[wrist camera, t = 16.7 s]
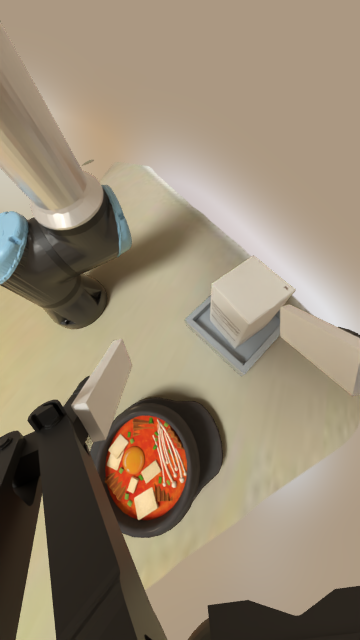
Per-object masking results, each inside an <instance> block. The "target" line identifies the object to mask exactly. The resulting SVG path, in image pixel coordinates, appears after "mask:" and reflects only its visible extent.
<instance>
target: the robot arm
mask: <svg viewBox="0 0 360 640" xmlns="http://www.w3.org/2000/svg"><path fill="white" fill-rule="evenodd" d="M0 168H1V169H2V170H3V171H4V172H5V173H6V174H7V175H8V177H9V178H10V179H11V180H12V181H13V182H14V183H15V184H16V185H17V186H18V187H19V188H20V189H21V190H22V191H23V192H24V193H25V194H26V195H27V196H28V197H29V199H31V211H32V214H33V216H34V218H31V219H30V220H27V219H26V218H25V217H24V216H22V215H20V214H19V213H17V212H13V211H10V212H3V213H1V214H0V285H1V286H3V287H5V288H7V289H9V290H10V291H12V292H14V293H16V294H18V295H20V296H22V297H24V298H26V299H27V300H29V301H31V302H33V303H35V304H37V305H39V306H41V307H42V308H43V309H44V310H45V311H46V312H47V314H48V315H49V316H50V317H51V318H52V319H53V320H54V321H55V322H56V323H57V324H59V325H61V326H63V327H65V328H69V329H79V328H82V327H85V326H87V325H89V324H91V323H92V322H94V321H95V320H96V319H97V318H98V317H99V316H100V315H101V313H102V312H103V310H104V308H105V306H106V302H107V294H106V290H105V289H104V287H103V286H102V285H101V284H100V283H99V282H98V281H97V280H96V279H94V278H92V277H90V276H88V275H85V274H83V273H85V272H87V271H89V270H91V269H93V268H95V267H97V266H99V265H101V264H103V263H106V262H108V261H110V260H112V259H114V258H116V257H119V256H120V255H121V254H122V253H124V252H126V251H127V250H129V249H130V248H131V245H132V238H131V234H130V230H129V227H128V224H127V221H126V219H125V217H124V214H123V211H122V208H121V206H120V204H119V202H118V200H117V198H116V196H115V194H114V192H113V191H112V189H111V188H110V187H109V186H108V185H101V184H100V182H99V181H98V180H97V178H96V177H95V176H93V175H92V174H90V173H88V172H85V171H82V169H81V167H80V165H79V163H78V162H77V160H76V158H75V156H74V154H73V153H72V151H71V149H70V147H69V145H68V143H67V142H66V140H65V138H64V136H63V135H62V132H61V131H60V129H59V127H58V125H57V123H56V122H55V120H54V118H53V117H52V114H51V113H50V111H49V109H48V107H47V105H46V103H45V102H44V100H43V98H42V96H41V94H40V93H39V91H38V89H37V87H36V85H35V83H34V82H33V80H32V78H31V76H30V74H29V72H28V71H27V69H26V67H25V65H24V63H23V61H22V60H21V58H20V56H19V54H18V52H17V51H16V49H15V47H14V45H13V43H12V42H11V40H10V38H9V36H8V34H7V32H6V31H5V29H4V27H3V25H2V23H1V21H0ZM280 337H281V338H283V339H284V340H285V341H286V342H287V343H289V344H290V345H291V346H292V347H294V348H295V349H296V350H297V351H298V352H300V353H301V354H302V355H303V356H304V357H306V358H307V359H308V360H309V361H310V362H312V363H313V364H314V365H315V366H316V367H318V368H319V369H320V370H321V371H322V372H324V373H325V374H326V375H327V376H329V377H330V378H331V379H332V380H333V381H335V382H336V383H337V384H338V385H339V386H341V387H342V388H343V389H344V390H345V391H347V392H348V393H349V394H350V395H351V396H356V395H360V335H358V333H355V332H353V331H351V330H349V329H345V328H341V327H335V326H334V325H332V324H330V323H327V322H325V321H323V320H321V319H319V318H317V317H315V316H313V315H311V314H309V313H307V312H305V311H303V310H301V309H298V308H296V307H294V306H292V305H285V306H280ZM131 368H132V363H131V360H130V358H129V355H128V352H127V350H126V347H125V344H124V342H123V339H118V340H113V342H112V344H111V345H110V347H109V348H108V350H107V351H106V353H105V354H104V356H103V357H102V359H101V360H100V362H99V363H98V365H97V366H96V368H95V369H94V371H93V373H92V374H91V376H88V377H86V378H85V379H84V380H83V381H82V382H80V384H79V385H78V387H77V388H76V390H75V391H74V392H73V395H71V397H70V398H69V400H68V401H67V402H66V404H65V405H64V407H63V406H62V405H61V403H60V402H59V401H58V400H51V401H48V402H46V403H44V404H42V405H41V406H39V407H38V408H36V409H35V410H34V411H33V412H32V413H31V414H30V416H29V417H28V422H29V423H30V425H31V426H32V427H33V429H34V430H35V432H32V433H30V434H28V435H25V436H22V434H21V433H20V432H19V431H13V432H10V433H7V434H6V435H4V436H2V437H0V640H15V639H16V634H17V628H18V623H19V617H20V612H21V606H22V601H23V595H24V590H25V584H26V579H27V573H28V568H29V563H30V557H31V552H32V546H33V541H34V535H35V530H36V524H37V519H38V513H39V508H40V502H41V497H42V494H43V505H44V515H45V525H46V536H47V546H48V557H49V567H50V578H51V588H52V599H53V609H54V620H55V630H56V640H167V638H166V636H165V634H164V631H163V629H162V627H161V625H160V622H159V621H158V619H157V617H156V615H155V613H154V611H153V609H152V607H151V604H150V602H149V600H148V597H147V595H146V592H145V590H144V587H143V585H142V582H141V580H140V577H139V575H138V572H137V570H136V567H135V565H134V562H133V560H132V557H131V555H130V552H129V550H128V547H127V544H126V542H125V539H124V537H123V534H122V532H121V529H120V527H119V524H118V522H117V519H116V517H115V514H114V512H113V509H112V507H111V504H110V502H109V499H108V497H107V494H106V492H105V489H104V487H103V484H102V482H101V479H100V477H99V474H98V472H97V469H96V467H95V464H94V462H93V459H92V457H91V454H90V452H89V449H88V446H87V445H86V443H85V441H86V439H87V437H88V435H89V437H90V439H91V440H92V442H96V441H102V440H106V438H107V436H108V433H109V430H110V427H111V424H112V422H113V419H114V416H115V413H116V410H117V407H118V405H119V402H120V399H121V396H122V393H123V390H124V388H125V385H126V382H127V379H128V376H129V374H130V371H131ZM208 613H209V618H208V619H207V620H205V621H204V622H203V623H201V625H200V626H199V627H198V628H197V629H196V630H195V631H194V632H193V633H192V635H191V636H190V637H189V639H188V640H360V586H356V587H348V588H340V589H335V590H333V591H332V592H331V593H329V594H328V595H327V596H325V597H324V598H323V599H321V600H320V601H319V602H318V603H316V604H315V605H314V606H312V607H311V608H310V609H308V610H307V611H306V612H304V613H303V614H302V615H299V616H294V615H291V614H288V613H285V612H282V611H279V610H276V609H273V608H270V607H267V606H264V605H261V604H258V603H255V602H252V601H249V600H245V601H238V602H230V603H222V604H214V605H208Z"/></svg>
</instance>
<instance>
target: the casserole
mask: <svg viewBox="0 0 360 640" xmlns="http://www.w3.org/2000/svg"><path fill="white" fill-rule="evenodd" d="M90 454H91V457H92V459H93V462H94V464H95V467H96V469H97V472H98V474H99V477H100V479H101V482H102V484H103V487H104V489H105V492H106V494H107V497H108V499H109V502H110V504H111V507H112V509H113V512H114V514H115V517H116V519H117V522H118V524H119V527H120V529H121V532H122V533H123V534H126V535H129V536H132V537H141V538H145V537H146V538H150V537H154V536H158V535H162V534H163V533H165V532H167V531H169V530H171V529H172V528H173V527H175V526H176V525H177V524H178V523H179V522H180V521H181V520H182V519H183V517H184V516H185V515H186V513H187V512H188V510H189V509H190V507H191V505H192V502H193V501H194V499H195V498H196V496H197V495H198V494H199V492H200V491H201V489H202V488H203V487H204V486H205V485H206V484H207V483H208V482H209V481H211V480H212V479H213V478H214V477H215V476H216V475H217V474H218V473H219V470H220V468H221V465H222V458H223V450H222V441H221V438H220V434H219V430H218V428H217V426H216V424H215V422H214V419H213V418H212V416H211V415H210V413H209V412H208V411H207V410H206V409H205V408H204V407H203V406H202V405H201V404H199V403H197V402H195V401H173V400H168V399H163V398H148V399H144V400H141V401H139V402H137V403H135V404H133V405H132V406H130V407H129V408H128V409H126V410H125V411H124V412H122V413H121V414H120V415H118V416H117V417H116V419H115V420H114V421H113V422H112V424H111V427H110V430H109V433H108V436H107V438H106V440H102V441H96V442H94V443H93V445H92V447H91V451H90Z"/></svg>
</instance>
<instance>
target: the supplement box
mask: <svg viewBox="0 0 360 640" xmlns="http://www.w3.org/2000/svg"><path fill="white" fill-rule="evenodd" d="M294 292H295V289H294V288H293V287H292V286H290V285H289V284H288V283H286V282H285V281H284V280H283V279H282V278H280V277H279V276H278V275H277V274H275V273H274V272H273V271H272V270H271V269H269V268H268V267H267V266H266V265H265V264H264V263H262V262H261V261H260V260H259V259H257V258H256V257H255V256H251V257H250V258H249V259H247V260H246V261H244V262H243V263H241V264H240V265H238V266H237V267H235V268H234V269H232V270H231V271H229V272H228V273H226V274H225V275H224V276H222V277H221V278H219V279H218V280H216V281H215V282H213V283H212V284H211V306H210V321H211V322H212V323H213V324H214V325H215V327H216V328H217V329H218V330H219V331H220V332H221V334H222V335H223V336H224V337H225V338H226V339H227V340H228V342H229V343H230V344H231V345H232V346H233V347H234V348H237V347H239V346H240V345H241V344H243V343H244V342H245V341H247V340H248V339H249V338H251V337H252V336H253V335H255V334H256V333H257V332H259V331H260V330H261V329H263V328H264V327H265V326H266V325H267V324H268V323H269V322H270V320H271V319H272V318H273V317H274V316H275V314H276V313H277V312H278V311H279V310H280V306H283V305H284V304H285V303H286V301H287V300H288V299H289V298H290V297H291V295H292V294H293V293H294Z"/></svg>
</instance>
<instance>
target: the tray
mask: <svg viewBox="0 0 360 640" xmlns="http://www.w3.org/2000/svg"><path fill="white" fill-rule="evenodd" d="M210 306H211V295H210V296H209V297H208V298H207V299H206V300H205V301H204V302H203V303H202V304H201V305H200V306H199V307H197V308H196V309H195V310H194V311H193V312H192V313H191V314H190V315H189V316H188V317H187V318H186V319H185V323H186V326H188V327H189V328H190V329H191V330H192V331H193V332H194V333H195V334H196V335H197V336H198V337H199V338H200V339H202V340H203V341H204V342H205V343H206V344H207V345H208V346H209V347H210V348H211V349H212V350H213V351H214V352H216V353H217V354H218V355H219V356H220V357H221V358H222V359H223V360H224V361H225V362H226V363H227V364H228V365H230V366H231V367H232V368H233V369H234V370H235V371H236V372H237V373H238V374H239V375H240V376H242V375H244V374H245V373H246V372H247V371H248V370H249V369H250V368H251V367H252V365H253V364H254V363H255V362H256V361H257V360H258V359H259V358H260V357H261V356H262V354H263V353H264V352H265V351H266V350H267V349H268V348H269V347H270V346H271V344H272V343H273V342H274V341H275V340H276V339H277V338H278V337H279V336H280V310H279V311H278V312H277V313H276V314H275V316H274V317H273V318H272V319H271V320H270V322H269V323H268V324H267V325H266V326H265V327H264V328H263V329H261V330H260V331H259V332H257V333H256V334H255V335H253V336H252V337H251V338H249V339H248V340H247V341H245V342H244V343H243V344H241V345H240V346H239V347H237V348H234V347H233V346H232V345H231V344H230V343H229V342H228V340H227V339H226V338H225V337H224V336H223V335H222V334H221V332H220V331H219V330H218V329H217V328H216V327H215V325H214V324H213V323H212V322H211V321H210Z"/></svg>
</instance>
